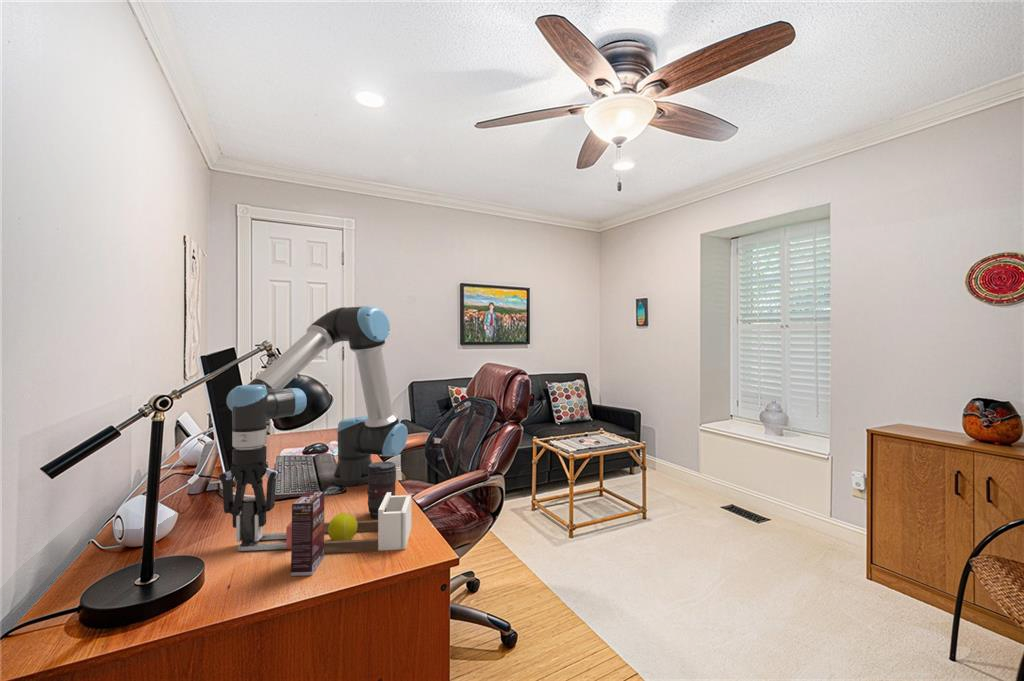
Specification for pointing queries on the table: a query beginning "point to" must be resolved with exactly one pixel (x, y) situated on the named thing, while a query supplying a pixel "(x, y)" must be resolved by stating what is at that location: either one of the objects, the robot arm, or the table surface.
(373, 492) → the camera lens
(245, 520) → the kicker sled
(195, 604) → the table surface
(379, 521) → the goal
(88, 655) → the table surface
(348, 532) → the tennis ball
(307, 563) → the supplement box
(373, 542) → the rails
